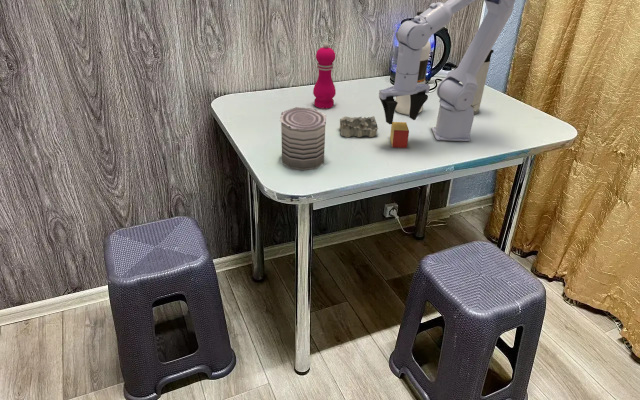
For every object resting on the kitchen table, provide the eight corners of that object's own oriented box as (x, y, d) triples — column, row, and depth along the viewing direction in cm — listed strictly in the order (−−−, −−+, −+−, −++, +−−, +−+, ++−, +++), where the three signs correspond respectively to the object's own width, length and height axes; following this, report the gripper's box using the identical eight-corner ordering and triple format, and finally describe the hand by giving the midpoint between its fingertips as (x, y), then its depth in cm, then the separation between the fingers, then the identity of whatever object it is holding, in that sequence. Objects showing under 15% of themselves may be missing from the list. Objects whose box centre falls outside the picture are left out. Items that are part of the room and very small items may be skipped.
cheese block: (404, 138, 134) (406, 122, 131) (406, 147, 129) (409, 131, 126) (389, 138, 134) (391, 121, 131) (392, 147, 129) (394, 130, 126)
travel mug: (475, 116, 149) (489, 52, 138) (455, 111, 152) (467, 48, 141) (482, 110, 153) (496, 48, 142) (463, 105, 156) (475, 44, 145)
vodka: (391, 114, 148) (404, 13, 132) (394, 103, 156) (406, 7, 140) (421, 117, 147) (437, 16, 131) (422, 106, 155) (438, 9, 138)
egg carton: (340, 137, 133) (340, 124, 131) (338, 126, 139) (339, 113, 137) (377, 138, 133) (379, 124, 131) (374, 127, 140) (375, 114, 137)
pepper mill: (335, 109, 150) (338, 45, 139) (312, 108, 150) (313, 45, 139) (335, 101, 156) (337, 39, 145) (313, 100, 156) (314, 38, 145)
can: (324, 149, 126) (325, 107, 120) (326, 170, 117) (327, 126, 110) (281, 149, 126) (280, 107, 119) (279, 170, 116) (279, 125, 110)
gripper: (421, 63, 126) (414, 111, 134) (374, 69, 121) (370, 119, 128) (437, 71, 121) (429, 121, 128) (389, 78, 115) (383, 129, 123)
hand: (400, 120), depth 128 cm, fingers open, 7 cm apart
